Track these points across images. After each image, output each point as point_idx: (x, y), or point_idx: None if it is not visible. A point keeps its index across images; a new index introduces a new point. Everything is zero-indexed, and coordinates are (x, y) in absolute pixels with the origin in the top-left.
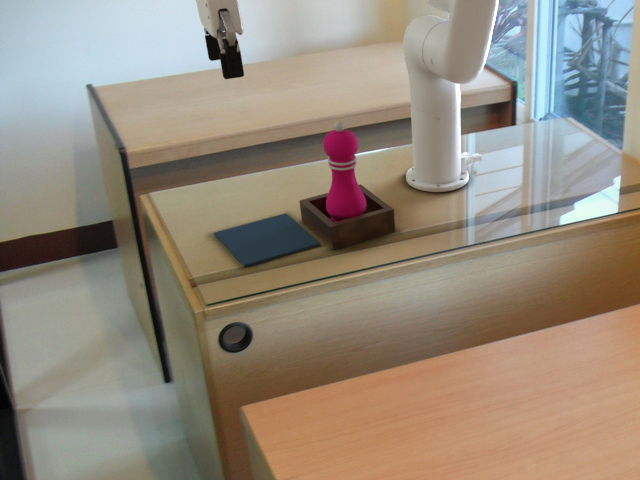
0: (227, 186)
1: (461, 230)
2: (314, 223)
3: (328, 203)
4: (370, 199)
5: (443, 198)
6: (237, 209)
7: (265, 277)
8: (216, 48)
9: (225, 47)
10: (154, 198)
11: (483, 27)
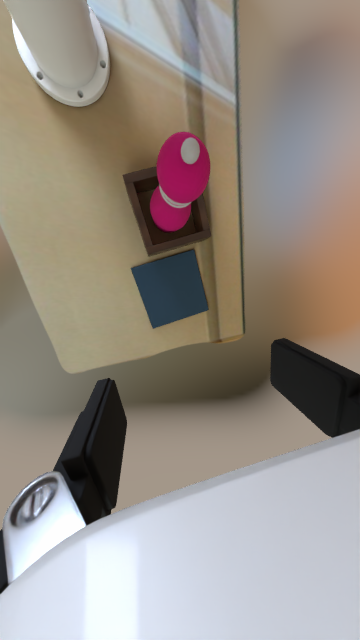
0: (55, 314)
1: (206, 95)
2: (176, 247)
3: (177, 227)
4: None
5: (125, 76)
6: (109, 308)
7: (225, 296)
8: (116, 434)
9: None
10: (73, 371)
11: None
